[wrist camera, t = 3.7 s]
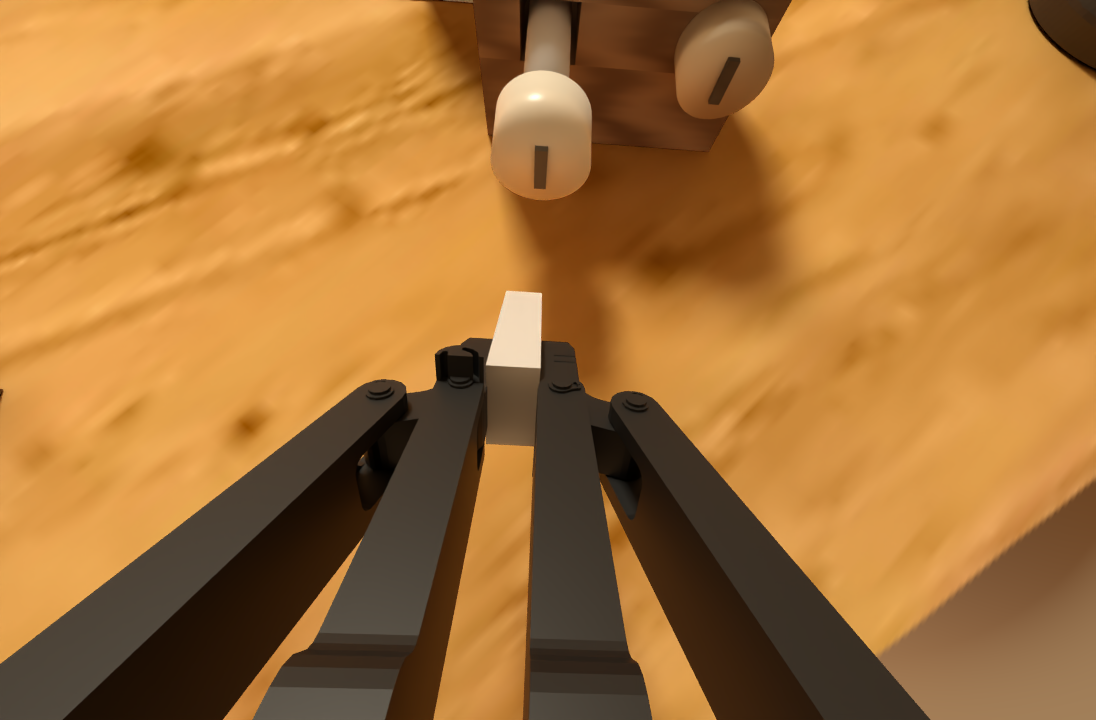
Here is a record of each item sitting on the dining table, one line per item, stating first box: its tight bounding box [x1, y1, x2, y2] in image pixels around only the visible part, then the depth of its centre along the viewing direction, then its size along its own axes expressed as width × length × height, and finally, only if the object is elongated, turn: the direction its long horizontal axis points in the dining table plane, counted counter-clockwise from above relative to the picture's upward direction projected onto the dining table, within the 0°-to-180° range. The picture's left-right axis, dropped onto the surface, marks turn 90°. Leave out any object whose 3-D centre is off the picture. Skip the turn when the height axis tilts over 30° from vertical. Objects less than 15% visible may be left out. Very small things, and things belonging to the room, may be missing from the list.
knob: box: [491, 0, 592, 200], centre depth 21 cm, size 5×15×5 cm, turn 177°
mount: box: [473, 0, 792, 152], centre depth 24 cm, size 16×13×11 cm
